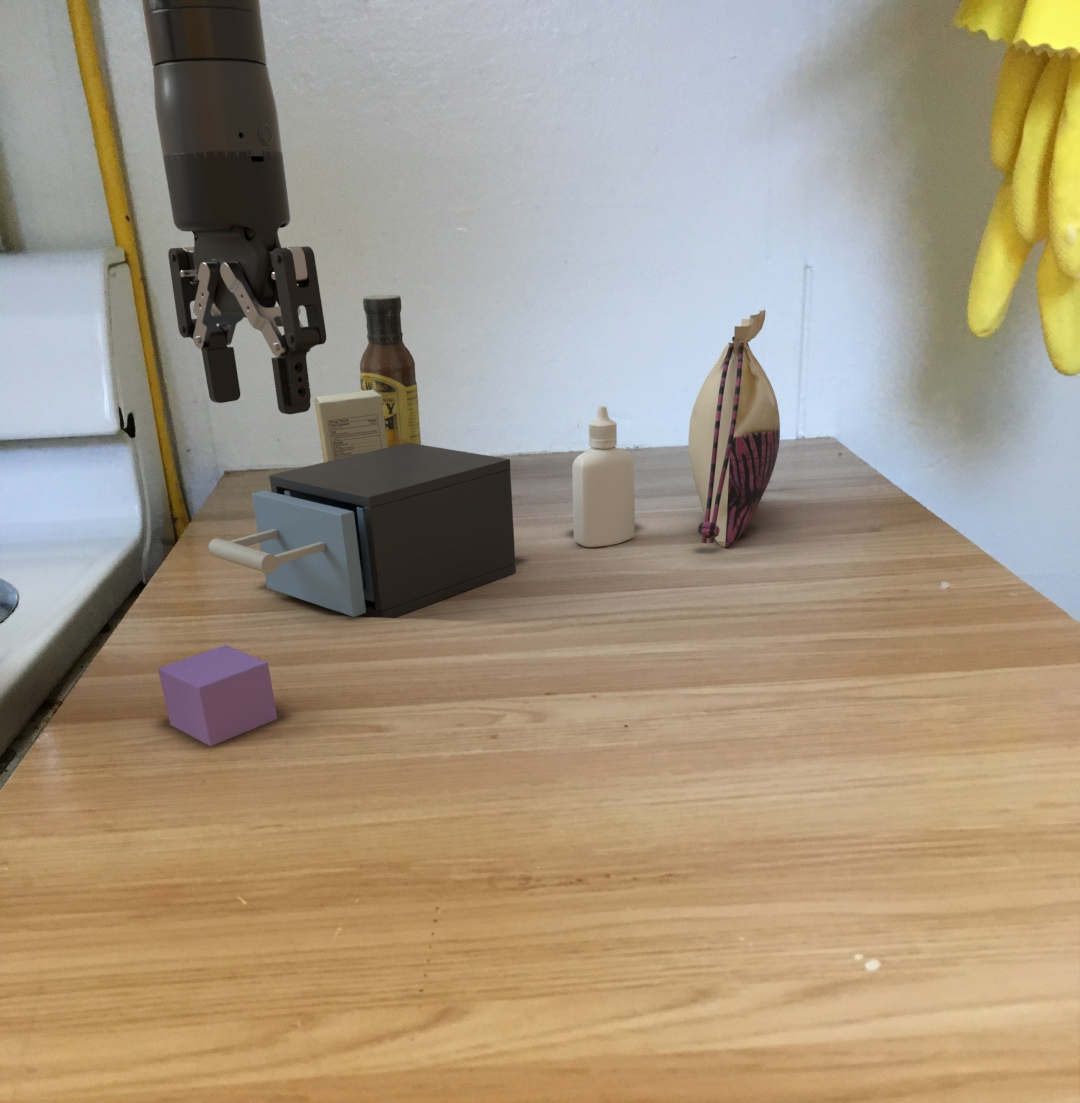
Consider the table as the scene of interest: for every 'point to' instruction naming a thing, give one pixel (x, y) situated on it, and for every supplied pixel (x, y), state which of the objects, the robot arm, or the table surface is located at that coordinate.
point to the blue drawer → (307, 549)
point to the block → (218, 694)
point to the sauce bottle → (390, 369)
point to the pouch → (733, 437)
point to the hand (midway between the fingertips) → (259, 406)
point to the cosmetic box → (350, 424)
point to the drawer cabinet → (421, 519)
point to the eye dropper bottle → (603, 488)
